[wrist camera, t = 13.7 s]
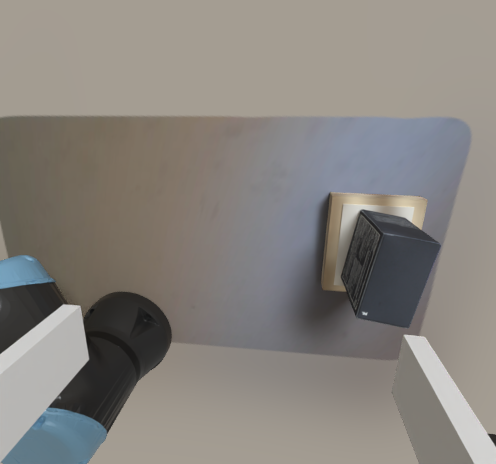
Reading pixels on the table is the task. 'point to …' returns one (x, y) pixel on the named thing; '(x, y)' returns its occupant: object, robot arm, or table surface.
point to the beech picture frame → (344, 222)
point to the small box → (387, 268)
